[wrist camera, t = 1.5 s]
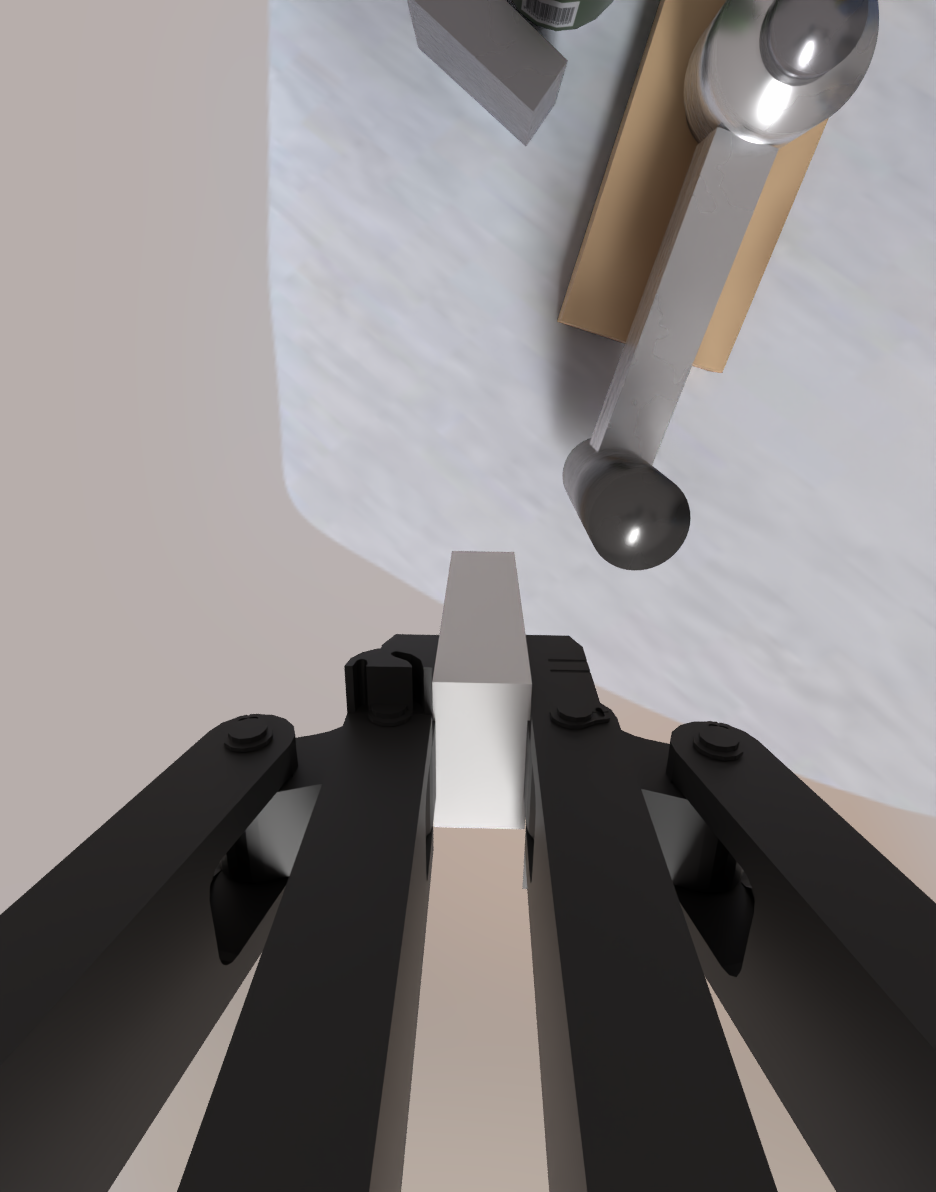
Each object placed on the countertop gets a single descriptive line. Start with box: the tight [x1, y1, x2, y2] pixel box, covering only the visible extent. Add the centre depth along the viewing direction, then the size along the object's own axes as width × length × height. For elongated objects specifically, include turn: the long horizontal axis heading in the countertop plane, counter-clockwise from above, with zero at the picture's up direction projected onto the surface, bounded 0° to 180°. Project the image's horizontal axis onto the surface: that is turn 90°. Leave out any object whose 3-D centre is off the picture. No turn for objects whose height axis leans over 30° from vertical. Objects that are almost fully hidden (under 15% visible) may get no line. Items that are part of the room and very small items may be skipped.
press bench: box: [557, 0, 878, 373], centre depth 29 cm, size 8×18×2 cm, turn 163°
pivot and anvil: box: [407, 0, 869, 146], centre depth 25 cm, size 15×6×10 cm, turn 73°
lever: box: [563, 0, 879, 570], centre depth 24 cm, size 28×5×9 cm, turn 163°
